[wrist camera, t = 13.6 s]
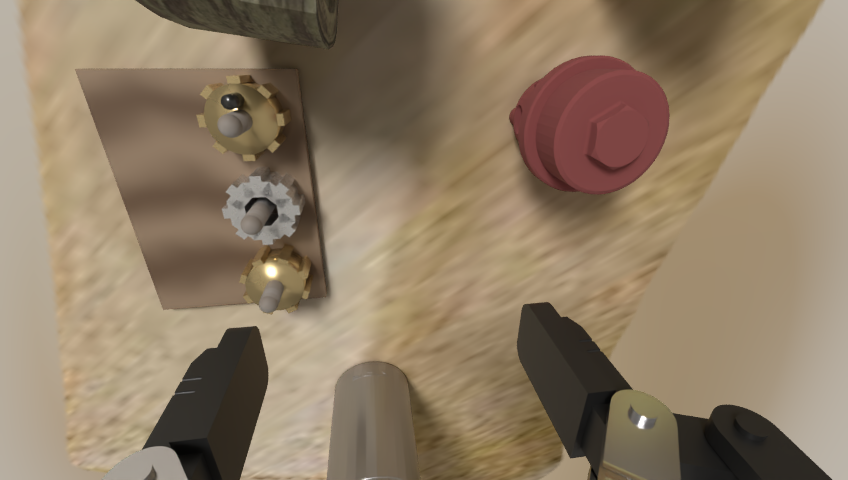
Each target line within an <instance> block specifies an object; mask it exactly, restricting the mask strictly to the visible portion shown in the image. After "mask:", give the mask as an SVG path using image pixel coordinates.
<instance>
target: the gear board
mask: <svg viewBox="0 0 848 480" xmlns="http://www.w3.org/2000/svg"><path fill="white" fill-rule="evenodd" d="M75 71H76V73H77V76H78V79H79V82H80V84H81V87H82V90H83V92H84V95H85V98H86V101H87V103H88V106H89V109H90V112H91V114H92V117H93V120H94V122H95V125H96V128H97V131H98V133H99V136H100V139H101V142H102V144H103V147H104V150H105V152H106V155H107V158H108V161H109V163H110V166H111V169H112V171H113V174H114V177H115V180H116V182H117V185H118V188H119V191H120V193H121V196H122V199H123V201H124V204H125V207H126V210H127V212H128V215H129V218H130V220H131V223H132V226H133V229H134V231H135V234H136V237H137V240H138V242H139V245H140V248H141V250H142V253H143V256H144V259H145V261H146V264H147V267H148V270H149V272H150V275H151V278H152V280H153V283H154V286H155V289H156V291H157V294H158V297H159V299H160V302H161V305H162V308H163V310H165V309H178V308H191V307H204V306H217V305H230V304H243V303H247V302H246V300H245V299H244V298H243V295H244V293H245V291H246V287H245V284H242V283H239V281H240V278H241V274H242V272H243V271H244V269H245V267H246V266H247V264H248V262H249V260H250V259H252V260H254V258H255V256H256V254H257V253H258V251H259V249H260V248H262V247H264V246H266V245H263V243H262V240H253V239H252V238H250V237H249V236H248V237H247V238H246V239H245V240H244V239H243V238H241V237H240V236H238V235H237V234H235V233H236V232H237V231H238V229H237V228H235V227H234V226H233V225H232V222H231V218H229V219H224V216H223V212H222V208H223V207H224V206H225V205H226V204H227V202H226V201H227V200H228V199H229V198H230V195H229V194H227V193H226V191H227V189H228V188H229V187H230V186H231V185H232V184H233V183H234V182H235V181H236V180H237V179H238V178H239V177H240V176H241V175H242V174H243V175H244V176H246V177H248V176H249V175H250V174H251V173H253V172H254V171H255V170H256V169H257V168H258V167H269V170H270V172H278V173H279V174H280V175H282V176H284V175H285V174H286V173H288V174H289V175H290V176H292V177H293V178H294V179H295V180H294V182H293V185H295V186H296V187H297V189H298V194H304V198H305V205H304V207H303V210H302V212H301V214H300V215H298V216H299V217H301V218H300V221H299V223H298V226H297V228H296V231H295V232H294V233H293V234H292V235H291V236H290V237H288V236H287V235H285V234H284V235H283V236H282V237H281V238H280V239H276V241H275V243H274V244H271V245H269V247H270V248H271V249H274V248H283V246H284V244H287V245H291V246H294V248H293V251H294V252H296V253H297V254H299V255H300V256H301V257H305V256H308V258H309V259H310V261H311V262H312V263H311V267H310V270H309V274H308V275H313V280H312V284H311V288H310V292H309V295H308V298H320V297H326V294H327V289H326V281H325V274H324V266H323V258H322V251H321V243H320V235H319V228H318V220H317V213H316V205H315V197H314V190H313V182H312V175H311V167H310V159H309V152H308V144H307V136H306V129H305V121H304V114H303V106H302V98H301V91H300V83H299V75H298V69H75ZM231 75H251V82H254V83H257V84H260V85H262V84H266V83H271V84H272V85H274V86H275V87H276V88H277V89H278V90H279V92H278V94H277V95H276V97H277V98H278V100H279V101H280V103H281V105H282V107H283V109H290V113H291V121H290V122H289V123H288V124H286V125H285V126H284V129H283V131H282V133H281V134H283V135H284V136H286V137H287V138H286V139H285V140H284V142H283V143H282V144H281V145H280V146H279V147H278V148H277V149H276V150H275V151H274V152H273V153H272V152H271V151H270V150H269V149H268V148H267V149H265V150H264V152H265V153H264V154H262V155H261V156H260V157H259V158H258V159H257V160H256V161H244V160H243V154H238V153H234V152H232V151H227V152H226V153H224V154H222V153H221V152H219V151H218V150H217V149H215V148H214V147H213V145H214V144H215V142H216V140H215V139H214V138H213V137H212V135H211V134H210V132H209V130H208V128H207V127H200V128H199V124H198V120H197V116H196V115H198V114H201V113H204V107H205V103H206V101H207V100H206V99H205V98H204V97H202V96H201V95H200V94H201V92H202V91H203V90H204V88H205V87H206V86H207V85H210V84H217V83H222V84H223V85H226V84H227V79H226V76H231ZM252 124H253V120H252V117H251V116H250V114H249V113H248V112H246V111H244V110H235V111H232V112H230V113H227V114H225V115H222V116H221V117H220V118H219V120H218V123H217V125H218V129H219V131H220V132H221V133H222V134H223V135H224V136H226V137H229V138H235V137H238V136H239V135H241V134H243V133H244V132H246V131H248V130H249V129H250V128H251V127H252ZM271 213H278V210H277V205H276V204H274V203H273V202H272V201H270V200H269V199H268V198H266V197H255V203H254V204H253V206H252V207H251V208H250V210H249V211H248V212H247V213H246V215H245V216H244V217H243V219H242V220H241V223H240V225H241V229H242V230H243V232H245V233H246V234H249V235H255V234H257V233H259V232H260V231H261V230H262V228H263V226H264V225H265V223H266V221H267V220H268V218H269V216H270V215H271ZM283 291H284V285H283V284H282V283H281V282H280V281H278V280H271V281H269V282H268V283H267V285H266V287H265V289H264V291H263V294H262V296H261V298H260V301H259V308H260V309H261V310H262V311H263V312H265V313H271V312H273V311H275V310H276V309H277V307H278V305H279V302H280V299H281V296H282V293H283ZM301 299H304V298H301ZM252 303H255V302H252Z"/></svg>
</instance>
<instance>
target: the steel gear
mask: <svg viewBox="0 0 848 480" xmlns="http://www.w3.org/2000/svg"><path fill="white" fill-rule="evenodd" d="M294 180H295V179H294V178H293V177H292V176H290V175H289V174H288V173H286V174H285V175H284V176H282V175H280V174H279V173H278V172H270V170H269V167H258V168H257V169H256V170H255V171H254V172H253V173H251V174H250V175H249V176H248V177H246V176H244V175H243V174H242V175H241V176H240V177H239V178H238V179H237V180H236V181H235V182H234V183H233V184H232V185H231V186H230V187H229V188H228V189H227V191H226V193H227V194H229V195H230V198H229V199H228V200H227V201H226V202H227V204H226V205H225V206H224V207H223V208H222V212H223V216H224V219H229V218H231V222H232V225H233V226H234V227H235V228H237V229H238V231H237V232H236V233H235V234H237V235H238V236H240V237H241V238H243V239H244V240H245V239H246V238H247V237H248V236H249V237H250V238H252V239H253V240H262V243H263V245H271V244H274V243H275V241H276V239H280V238H281V237H282V236H283V235H284V234H285V235H287V236H288V237H290V236H291V235H292V234H293V233H294V232H295V231H296V228H297V226H298V223H299V221H300V218H301V217H299V216H298V215H300V214H301V212H302V210H303V207H304V205H305V198H304V194H298V189H297V187H296V186H295V185H293V182H294ZM255 197H266V198H268V199H269V200H270V201H272V202H273V203H274V204H276V205H277V210H278V213H271V215H270V216H269V218H268V220H267V221H266V223H265V225H264V226H263V228H262V230H261V231H260V232H259V233H257V234H255V235H249V234H246V233H245V232H243V230H242V229H241V225H240V223H241V220H242V219H243V217H244V216H245V215H246V213H247V212H248V211H249V210H250V208H251V207H252V206H253V204H254V203H255Z"/></svg>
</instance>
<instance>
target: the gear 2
mask: <svg viewBox="0 0 848 480" xmlns="http://www.w3.org/2000/svg"><path fill="white" fill-rule="evenodd" d="M293 248H294V246H291V245H287V244H284V246H283V248H274V249H271V248H270V247H269V245H266V246H264V247H262V248H260V249H259V251H258V253H257V254H256V256H255V258H254V260H252V259H250V260H249V262H248V264H247V266H246V267H245V269H244V271H243V272H242V274H241V278H240V281H239V283H242V284H245V287H246V291H245V293H244V295H243V298H244V299H245V300H246V302H247V303H248V304H249V303H252V302H255V303H256V304H257V305H259V301H260V298H261V296H262V294H263V291H264V289H265V287H266V285H267V283H268V282H269V281H271V280H278V281H280V282H281V283H282V284H283V285H284V291H283V293H282V296H281V299H280V302H279V305H278V307H277V309H276V310H284V309H286V310H287V312H288V313H290V312H293V311H295V310H297V308H298V304H299V301H300V299H301V298H304V299H307V298H308V295H309V292H310V288H311V284H312V280H313V275H308V274H309V270H310V267H311V263H312V262H311V261H310V259H309V258H308V256H305V257H301V256H300V255H299V254H297V253H296V252H294V251H293ZM263 313H265V312H263ZM268 314H273V312H271V313H268Z"/></svg>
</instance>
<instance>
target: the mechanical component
mask: <svg viewBox="0 0 848 480" xmlns="http://www.w3.org/2000/svg"><path fill="white" fill-rule="evenodd" d="M509 118H510V122H511V123H512V124H513V127H514V133H515V135H516V138H517V140H518V142H519V148H520V152H521V155H522V158H523V160H524V162H525V164H526V166H527V167H528V169H529V170H530V171H531V172H532V173H533V174H534V176H536V177H537V178H538V179H540V180H541V181H543V182H544V183H546V184H547V185H549V186H550V187H553V188H555V189H558V190H562V191H570V192H576V191H581V192H584V193H588V194H606V193H611V192H614V191H617V190H619V189H622V188H624V187H626V186H628V185H629V184H631V183H632V182H634V181H635V180H636V179H638V178H639V177H640V176H641V175H642V174H643V173H644V172H645V171H646V170H647V169H648V168H649V167H650V166H651V165H652V163H653V162H654V161H655V159H656V158H657V156H658V154H659V153H660V151H661V149H662V146H663V144H664V142H665V139H666V136H667V132H668V127H669V105H668V102H667V98H666V96H665V93H664V91H663V89H662V88H661V87H660V85H659V84H658V83H657V82H656V81H655V80H654V79H653V78H652V77H650V76H648V75H646V74H645V73H642V72H639V71H636V70H635V69H634V68H632V67H631V66H630V65H629V64H627V63H626V62H624V61H622V60H620V59H617V58H614V57H610V56H583V57H578V58H575V59H571V60H569V61H567V62H564V63H562V64H561V65H559V66H557V67H556V68H554V69H553V70H552V71H550V72H549V73H548V74H547V75H546V76H545V77H544V78H542V79H540V80H538V81H537V82H535V83H534V84H532V85H531V86H530V87H529V88H528V89H527V90H526V91H525V92H524V93H523V95H522V96H521V98H520V99H519V102H518V104H517V106H516V108H514V109H513V110H512V111H511V113H510V116H509Z"/></svg>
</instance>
